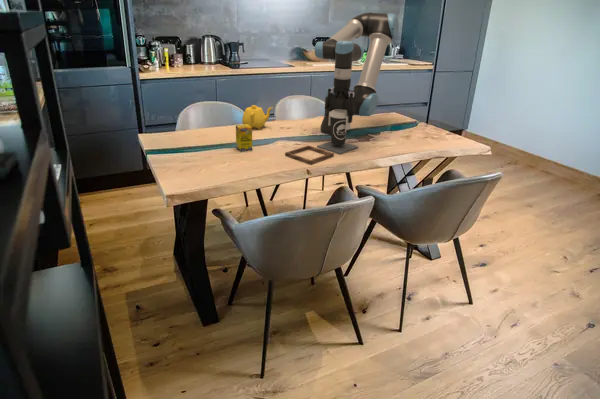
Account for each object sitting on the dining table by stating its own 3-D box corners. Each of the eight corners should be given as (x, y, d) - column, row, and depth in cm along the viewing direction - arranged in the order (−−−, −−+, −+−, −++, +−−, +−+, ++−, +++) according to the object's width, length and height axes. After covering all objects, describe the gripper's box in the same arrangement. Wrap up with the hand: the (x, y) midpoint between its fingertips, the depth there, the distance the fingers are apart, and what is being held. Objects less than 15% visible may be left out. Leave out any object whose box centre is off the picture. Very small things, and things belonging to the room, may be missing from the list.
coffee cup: (350, 141, 208) (353, 110, 202) (344, 147, 201) (346, 114, 194) (332, 138, 212) (334, 107, 206) (324, 143, 204) (326, 112, 198)
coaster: (316, 147, 207) (317, 145, 206) (335, 141, 216) (335, 139, 216) (340, 154, 198) (340, 152, 198) (358, 148, 208) (358, 146, 207)
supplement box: (240, 151, 198) (239, 128, 193) (236, 148, 203) (235, 125, 198) (252, 150, 200) (252, 127, 196) (248, 146, 205) (247, 123, 201)
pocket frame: (285, 155, 195) (285, 152, 194) (308, 148, 205) (308, 145, 204) (310, 164, 185) (310, 161, 185) (333, 156, 196) (333, 153, 195)
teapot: (253, 132, 226) (253, 110, 221) (236, 127, 235) (235, 105, 230) (273, 128, 235) (273, 106, 230) (256, 122, 244) (255, 101, 239)
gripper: (318, 75, 198) (316, 123, 207) (357, 82, 184) (353, 133, 194) (328, 73, 203) (326, 121, 212) (367, 80, 189) (363, 130, 199)
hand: (339, 127), depth 203 cm, fingers closed on coffee cup, 9 cm apart
